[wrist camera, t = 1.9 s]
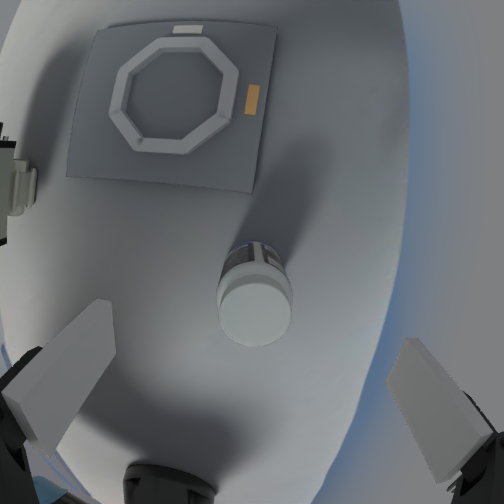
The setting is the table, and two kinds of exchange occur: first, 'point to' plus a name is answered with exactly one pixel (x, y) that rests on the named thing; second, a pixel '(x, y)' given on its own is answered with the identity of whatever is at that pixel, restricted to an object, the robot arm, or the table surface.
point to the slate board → (173, 104)
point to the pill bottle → (254, 295)
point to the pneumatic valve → (13, 184)
